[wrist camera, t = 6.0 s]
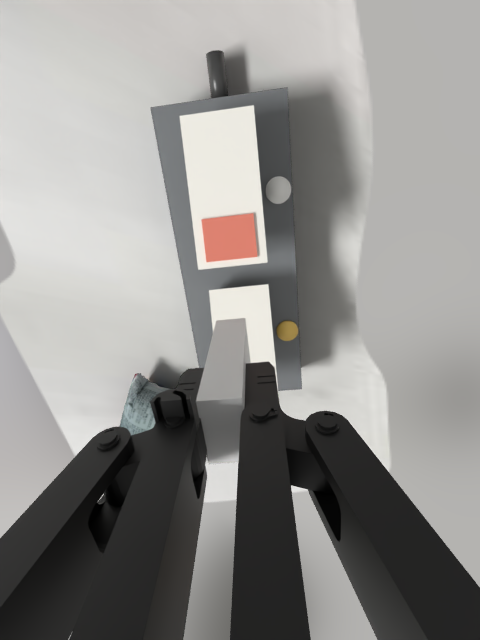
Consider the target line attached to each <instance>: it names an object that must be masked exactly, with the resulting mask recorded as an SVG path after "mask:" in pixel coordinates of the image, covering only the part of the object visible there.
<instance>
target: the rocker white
mask: <svg viewBox="0 0 480 640" xmlns="http://www.w3.org/2000/svg"><path fill="white" fill-rule="evenodd" d="M179 117H180V125H181V133H182V141H183V149H184V158H185V166H186V174H187V182H188V190H189V198H190V207H191V215H192V223H193V231H194V239H195V247H196V256H197V264H198V270H204V269H213V268H223V267H232V266H241V265H251V264H260V263H267V262H268V260H267V249H266V238H265V227H264V215H263V204H262V193H261V181H260V170H259V159H258V148H257V136H256V125H255V114H254V105H252V106H245V107H238V108H231V109H224V110H217V111H210V112H203V113H196V114H190V115H183V116H179Z"/></svg>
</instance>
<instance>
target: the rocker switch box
mask: <svg viewBox="0 0 480 640" xmlns="http://www.w3.org/2000/svg"><path fill="white" fill-rule="evenodd" d="M206 58H207V66H208V74H209V82H210V90H211V98H212V99H205V100H198V101H191V102H184V103H178V104H171V105H164V106H157V107H150V108H151V113H152V119H153V124H154V129H155V135H156V140H157V145H158V151H159V156H160V161H161V167H162V172H163V177H164V183H165V188H166V193H167V199H168V204H169V209H170V214H171V220H172V225H173V230H174V236H175V241H176V246H177V252H178V257H179V262H180V268H181V273H182V278H183V284H184V289H185V294H186V300H187V305H188V310H189V315H190V321H191V326H192V331H193V337H194V342H195V347H196V353H197V358H198V363H199V368H204V367H205V363H206V359H207V355H208V351H209V347H210V343H211V339H212V335H213V328H212V317H211V307H210V296H209V290H216V289H226V288H236V287H246V286H256V285H265V284H268V286H269V297H270V308H271V318H272V329H273V340H274V351H275V361H276V372H277V383H278V391H283V390H296V389H302V381H301V360H300V339H299V318H298V297H297V276H296V255H295V234H294V214H293V193H292V172H291V151H290V130H289V109H288V88H280V89H273V90H266V91H260V92H253V93H246V94H239V95H232V96H228V89H227V79H226V70H225V61H224V53H223V52H222V51H211V52H209V53H207V54H206ZM252 105H254V114H255V125H256V136H257V148H258V159H259V170H260V181H261V193H262V204H263V215H264V227H265V238H266V249H267V260H268V262H267V263H260V264H251V265H241V266H232V267H223V268H213V269H204V270H198V264H197V256H196V247H195V239H194V231H193V223H192V215H191V207H190V198H189V190H188V182H187V174H186V166H185V158H184V149H183V141H182V133H181V125H180V117H179V116H183V115H190V114H196V113H203V112H210V111H217V110H224V109H231V108H238V107H245V106H252Z"/></svg>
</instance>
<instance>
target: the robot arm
mask: <svg viewBox="0 0 480 640" xmlns="http://www.w3.org/2000/svg"><path fill="white" fill-rule="evenodd" d="M150 404H151V408H152V411H153V415H154V419H155V425H154V427H153V428H152V429H150V430H147V431H144V432H141V433H138V434H134V435H131V434H130V432H129V430H128V429H127V428H124V427H112V428H109V429H106V430H104V431H102V432H100V433H98V434H97V435H96V436H95V437H93V438H92V439H91V440H90V441H89V442H88V444H87V445H86V446H85V447H84V448H83V449H82V450H81V451H80V452H79V453H78V454H77V456H76V457H75V458H74V459H73V460H72V461H71V462H70V463H69V464H68V465H67V466H66V468H65V469H64V470H63V471H62V472H61V473H60V474H59V475H58V476H57V477H56V478H55V479H54V481H53V482H52V483H51V484H50V485H49V486H48V487H47V488H46V489H45V490H44V491H43V493H42V494H41V495H40V496H39V497H38V498H37V499H36V500H35V501H34V502H33V503H32V505H31V506H30V507H29V508H28V509H27V510H26V511H25V513H23V514H22V515H21V516H20V518H19V519H18V520H17V521H16V522H15V523H14V524H13V525H12V526H11V527H10V528H9V530H8V531H7V532H6V533H5V534H4V535H3V536H2V537H1V538H0V640H68V638H69V636H70V635H71V637H70V639H69V640H183V637H184V630H185V623H186V616H187V610H188V603H189V596H190V589H191V582H192V575H193V569H194V562H195V555H196V548H197V541H198V535H199V528H200V521H201V514H202V507H203V500H204V494H205V487H206V480H207V473H206V467H205V461H206V455H207V458H208V463H209V464H219V463H236V462H239V463H238V484H237V506H236V526H235V547H234V568H233V569H234V570H233V589H232V610H231V631H230V634H231V635H230V640H311V639H310V631H309V624H308V616H307V608H306V601H305V592H304V585H303V577H302V569H301V562H300V554H299V546H298V538H297V531H296V523H295V515H294V507H293V500H292V492H291V485H293V486H297V487H301V488H305V489H308V491H309V494H310V496H311V498H312V500H313V503H314V505H315V507H316V509H317V511H318V513H319V515H320V518H321V520H322V522H323V524H324V526H325V528H326V530H327V533H328V535H329V537H330V539H331V541H332V543H333V545H334V548H335V550H336V552H337V554H338V556H339V558H340V560H341V562H342V565H343V567H344V569H345V571H346V573H347V575H348V577H349V580H350V582H351V584H352V586H353V588H354V590H355V592H356V594H357V596H358V599H359V601H360V603H361V605H362V607H363V610H364V612H365V614H366V616H367V618H368V620H369V622H370V624H371V626H372V629H373V631H374V633H375V635H376V637H377V639H378V640H480V587H479V586H478V585H477V584H476V582H475V581H474V580H473V579H472V577H471V576H470V575H469V573H468V572H467V571H466V570H465V569H464V567H463V566H462V565H461V563H460V562H459V561H458V560H457V559H456V557H455V556H454V554H453V553H452V552H451V551H450V549H449V548H448V547H447V546H446V545H445V543H444V542H443V541H442V539H441V538H440V537H439V536H438V534H437V533H436V532H435V530H434V529H433V528H432V527H431V526H430V524H429V523H428V522H427V520H426V519H425V518H424V516H423V515H422V514H421V513H420V512H419V510H418V509H417V508H416V506H415V505H414V504H413V503H412V501H411V500H410V499H409V497H408V496H407V495H406V494H405V493H404V491H403V490H402V489H401V487H400V486H399V485H398V484H397V482H396V481H395V480H394V478H393V477H392V476H391V475H390V473H389V472H388V471H387V470H386V468H385V467H384V466H383V465H382V463H381V462H380V461H379V459H378V458H377V457H376V456H375V454H374V453H373V452H372V451H371V449H370V448H369V447H368V446H367V444H366V443H365V442H364V440H363V439H362V438H361V437H360V435H359V434H358V433H357V432H356V430H355V429H354V428H353V427H352V425H351V424H350V423H349V421H348V420H347V419H345V418H344V417H343V416H342V415H340V414H337V413H335V412H330V411H320V412H316V413H313V414H311V415H310V416H309V417H308V418H307V419H306V421H304V420H298V419H294V418H292V417H289V416H287V415H286V414H285V413H284V412H283V411H282V410H281V408H280V404H279V397H278V389H277V382H276V374H275V367H274V366H273V365H272V364H271V363H270V362H257V363H251V361H250V353H249V344H248V336H247V327H246V319H245V318H238V319H227V320H217V321H216V324H215V327H214V331H213V335H212V339H211V343H210V347H209V351H208V355H207V359H206V363H205V367H204V368H195V369H188V370H187V371H185V372H184V373H183V374H182V375H181V377H180V380H179V382H178V385H177V388H176V389H175V388H174V389H169V390H166V391H163V392H161V393H159V394H157V395H156V396H155V397H153V399H152V400H151V401H150ZM103 493H104V495H103ZM102 495H103V497H102V498H101V499H100V497H101V496H102ZM99 499H100V500H99ZM98 500H99V501H98ZM72 631H73V632H72ZM71 633H72V634H71Z"/></svg>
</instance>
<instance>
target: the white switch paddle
mask: <svg viewBox="0 0 480 640" xmlns="http://www.w3.org/2000/svg"><path fill="white" fill-rule="evenodd" d="M209 296H210V307H211V317H212V328H213V331H214V327H215V324H216V321H217V320H227V319H238V318H245V319H246V327H247V336H248V344H249V353H250V361H251V363H257V362H270V363H271V364H272V365H273V366H274V367H275V374H276V382H277V372H276V361H275V351H274V340H273V329H272V318H271V308H270V297H269V286H268V284H265V285H256V286H246V287H236V288H226V289H216V290H209ZM277 389H278V383H277ZM278 397H279V394H278Z"/></svg>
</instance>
